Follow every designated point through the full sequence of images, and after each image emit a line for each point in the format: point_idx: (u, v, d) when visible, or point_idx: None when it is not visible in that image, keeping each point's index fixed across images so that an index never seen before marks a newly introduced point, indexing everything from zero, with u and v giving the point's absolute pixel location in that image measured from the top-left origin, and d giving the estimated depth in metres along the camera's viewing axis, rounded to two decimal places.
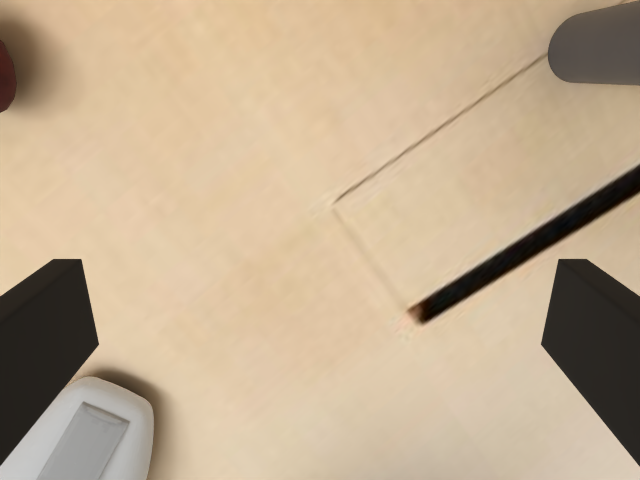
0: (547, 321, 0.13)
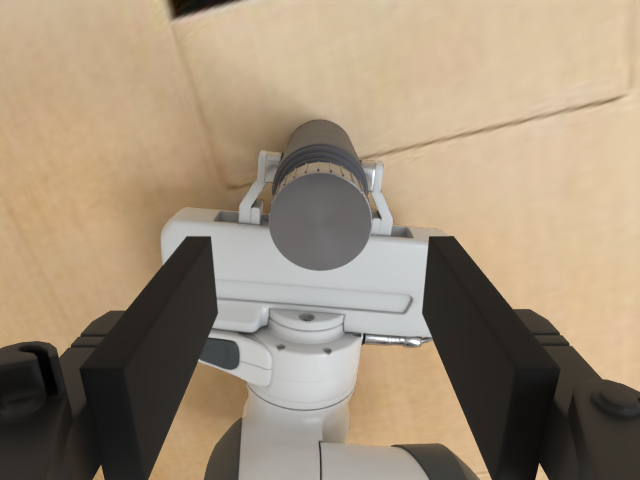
0: (424, 292, 0.14)
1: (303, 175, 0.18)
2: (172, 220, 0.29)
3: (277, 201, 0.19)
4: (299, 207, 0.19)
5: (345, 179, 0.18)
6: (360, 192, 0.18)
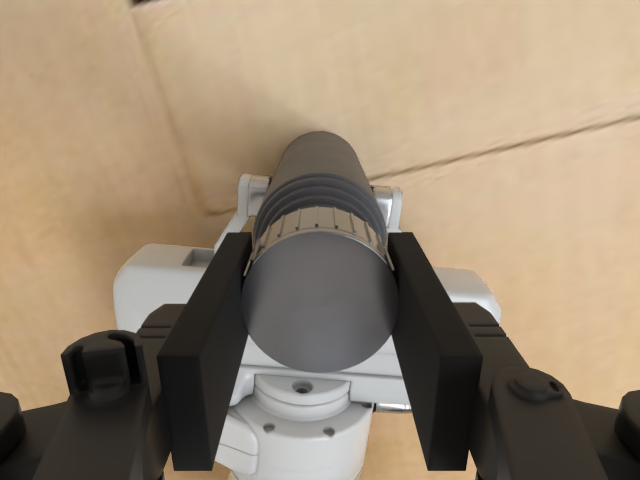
0: None
1: (293, 235, 0.12)
2: (127, 265, 0.22)
3: (252, 274, 0.12)
4: (286, 282, 0.12)
5: (359, 241, 0.12)
6: (382, 261, 0.12)
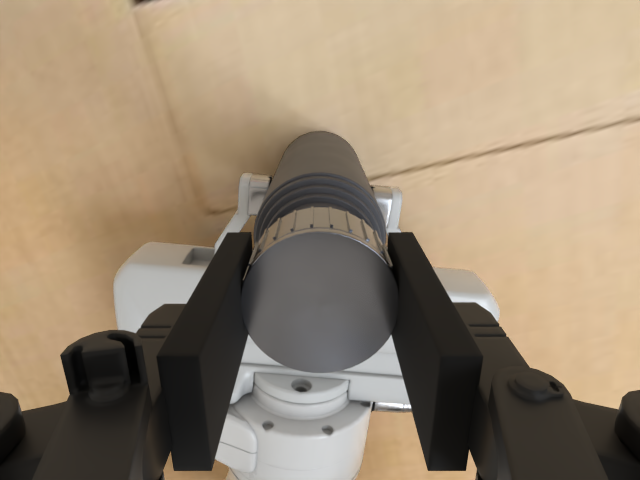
0: None
1: (252, 339, 0.13)
2: (128, 263, 0.22)
3: (297, 366, 0.13)
4: (299, 338, 0.13)
5: (243, 284, 0.12)
6: (257, 260, 0.12)
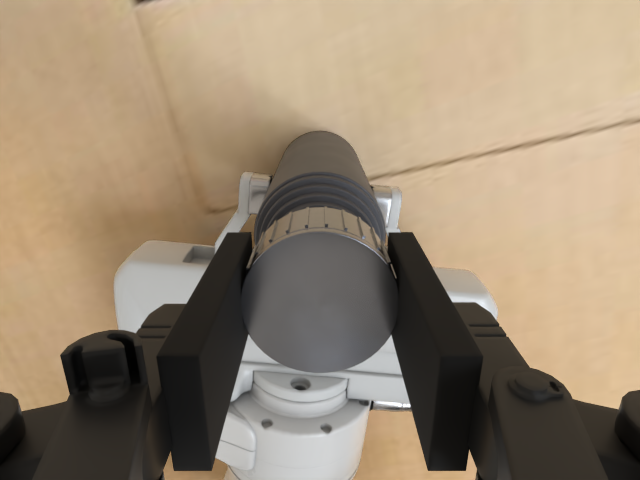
0: None
1: (368, 357, 0.13)
2: (128, 261, 0.22)
3: (393, 315, 0.12)
4: (359, 318, 0.12)
5: (310, 370, 0.13)
6: (283, 363, 0.13)
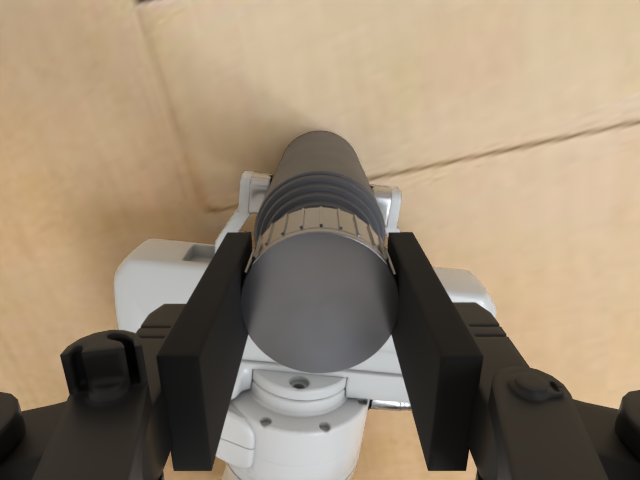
0: None
1: (373, 249, 0.12)
2: (128, 259, 0.22)
3: (316, 237, 0.12)
4: (326, 269, 0.12)
5: None
6: (392, 328, 0.13)
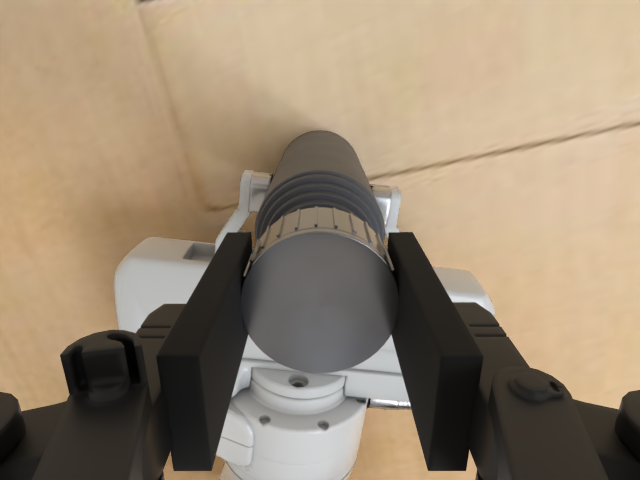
0: None
1: (248, 270, 0.12)
2: (129, 257, 0.23)
3: (248, 321, 0.12)
4: (277, 308, 0.12)
5: (300, 234, 0.12)
6: (332, 234, 0.12)
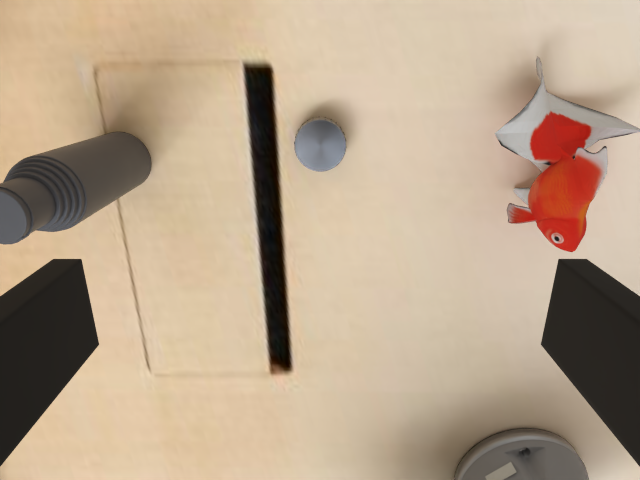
0: (547, 321, 0.13)
1: (297, 133, 0.38)
2: None
3: (297, 151, 0.38)
4: (306, 146, 0.38)
5: (314, 120, 0.38)
6: (324, 120, 0.38)
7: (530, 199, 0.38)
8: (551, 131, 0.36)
